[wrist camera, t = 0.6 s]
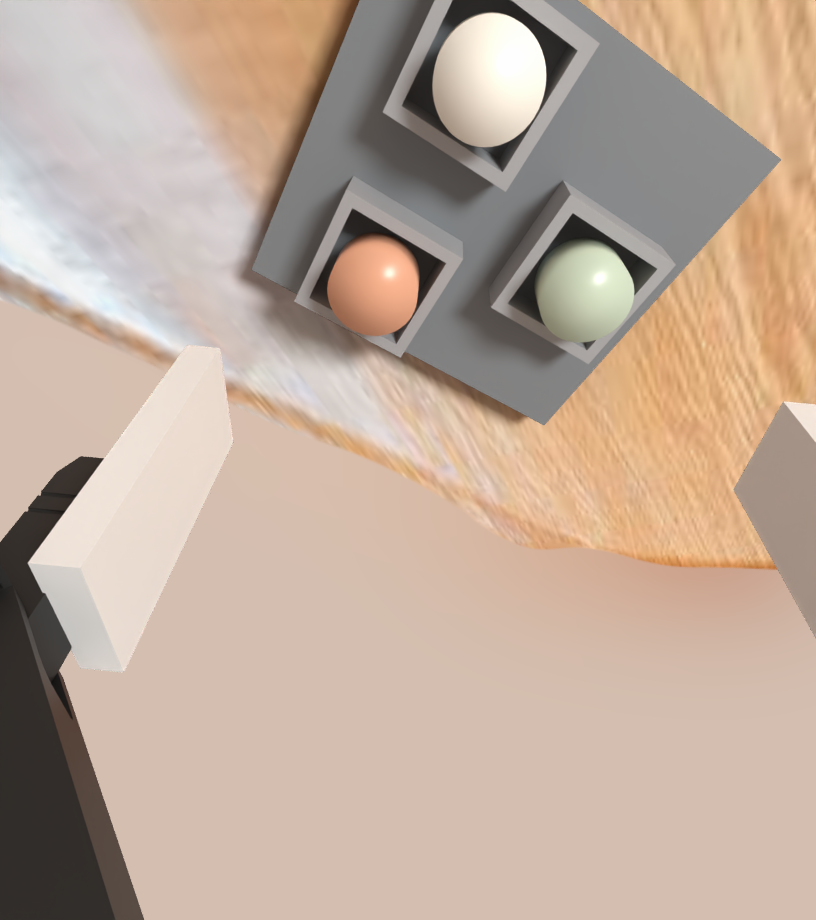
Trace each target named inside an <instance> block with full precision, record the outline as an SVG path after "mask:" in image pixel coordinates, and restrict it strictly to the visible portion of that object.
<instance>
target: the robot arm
mask: <svg viewBox="0 0 816 920" xmlns="http://www.w3.org/2000/svg"><path fill="white" fill-rule="evenodd" d="M232 444H233V436H232V429H231V422H230V415H229V407H228V400H227V393H226V386H225V379H224V372H223V365H222V358H221V351H220V348H214V347H204V346H193V345H187V346H186V347H185V349H184V350H183V351H182V353H181V354H180V356H179V357H178V358H177V360H176V361H175V362H174V364H173V365H172V366H171V368H170V369H169V371H168V372H167V373H166V375H165V376H164V377H163V379H162V380H161V382H160V383H159V384H158V386H157V387H156V388H155V390H154V391H153V392H152V394H151V395H150V397H149V398H148V399H147V401H146V402H145V403H144V405H143V406H142V407H141V409H140V410H139V412H138V413H137V415H136V416H135V417H134V418H133V420H132V421H131V423H130V424H129V425H128V427H127V428H126V429H125V431H124V432H123V433H122V435H121V436H120V438H119V439H118V440H117V442H116V443H115V444H114V446H113V447H112V449H111V450H110V451H109V453H108V454H107V456H106V457H105V458H93V457H83V456H81V457H79V458H78V459H76V460H75V461H73V462H72V463H70V464H69V465H67V466H65V467H64V468H62V469H61V470H59V471H58V472H57V473H56V474H55V475H54V476H53V478H52V479H51V480H50V481H49V482H48V484H47V485H46V486H45V488H44V489H43V490H42V491H41V496H37V497H36V499H35V500H34V501H33V502H32V504H31V505H30V506H29V507H28V509H29V510H28V512H24V513H23V515H22V516H21V517H20V518H19V520H18V521H17V522H16V523H15V525H14V526H13V527H12V528H11V530H10V531H9V532H8V533H7V535H6V536H5V537H4V538H3V539H2V541H1V542H0V920H144V918H143V915H142V912H141V909H140V906H139V903H138V900H137V897H136V894H135V891H134V888H133V885H132V882H131V879H130V876H129V873H128V870H127V868H126V864H125V861H124V858H123V855H122V853H121V849H120V846H119V843H118V840H117V837H116V834H115V831H114V829H113V825H112V823H111V820H110V816H109V813H108V810H107V808H106V804H105V801H104V799H103V796H102V793H101V790H100V787H99V784H98V781H97V778H96V775H95V772H94V769H93V766H92V763H91V760H90V757H89V754H88V751H87V748H86V745H85V742H84V739H83V736H82V733H81V730H80V727H79V724H78V721H77V718H76V715H75V712H74V709H73V706H72V703H71V700H70V697H69V694H68V691H67V689H66V685H65V682H64V679H63V677H62V675H61V673H60V672H59V669H60V667H61V666H62V664H63V662H64V660H65V658H66V657H67V655H68V653H69V652H70V650H71V651H72V653H73V655H74V657H75V659H76V661H77V663H78V665H79V667H80V668H84V669H95V670H105V671H116V672H124V671H125V669H126V667H127V664H128V662H129V660H130V658H131V656H132V654H133V652H134V650H135V648H136V646H137V643H138V641H139V639H140V637H141V635H142V633H143V631H144V629H145V627H146V625H147V623H148V620H149V618H150V616H151V614H152V612H153V610H154V608H155V606H156V604H157V602H158V599H159V597H160V595H161V593H162V591H163V589H164V587H165V585H166V582H167V581H168V579H169V576H170V574H171V572H172V570H173V568H174V566H175V564H176V561H177V560H178V558H179V555H180V553H181V551H182V549H183V547H184V545H185V543H186V540H187V538H188V536H189V534H190V532H191V530H192V528H193V526H194V524H195V522H196V520H197V517H198V515H199V513H200V511H201V509H202V507H203V505H204V503H205V501H206V499H207V497H208V495H209V492H210V490H211V488H212V486H213V484H214V482H215V480H216V478H217V476H218V474H219V471H220V469H221V467H222V465H223V463H224V461H225V459H226V457H227V455H228V453H229V450H230V448H231V446H232ZM733 490H734V491H735V493H736V495H737V497H738V499H739V500H740V502H741V504H742V506H743V508H744V510H745V511H746V513H747V515H748V517H749V519H750V520H751V522H752V524H753V526H754V528H755V529H756V531H757V533H758V535H759V537H760V538H761V540H762V542H763V544H764V546H765V547H766V549H767V551H768V553H769V555H770V557H771V558H772V560H773V562H774V564H775V566H776V567H777V569H778V571H779V573H780V574H781V576H782V578H783V580H784V582H785V584H786V585H787V587H788V589H789V591H790V593H791V594H792V596H793V598H794V600H795V602H796V603H797V605H798V607H799V609H800V611H801V613H802V614H803V616H804V618H805V620H806V622H807V623H808V625H809V627H810V629H811V631H812V632H813V634H814V636H815V638H816V404H805V403H795V402H784V401H783V403H782V405H781V406H780V408H779V410H778V412H777V413H776V415H775V417H774V419H773V420H772V422H771V424H770V426H769V428H768V429H767V431H766V433H765V435H764V436H763V438H762V440H761V442H760V443H759V445H758V447H757V449H756V451H755V452H754V454H753V456H752V458H751V459H750V461H749V463H748V465H747V466H746V468H745V470H744V472H743V474H742V475H741V477H740V479H739V481H738V482H737V484H736V486H735V488H734V489H733Z"/></svg>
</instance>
